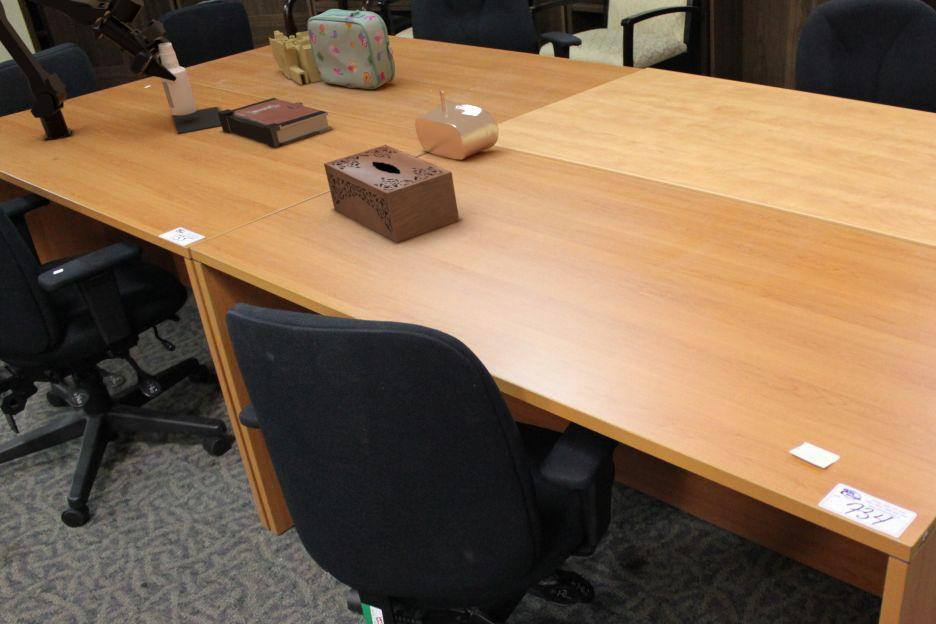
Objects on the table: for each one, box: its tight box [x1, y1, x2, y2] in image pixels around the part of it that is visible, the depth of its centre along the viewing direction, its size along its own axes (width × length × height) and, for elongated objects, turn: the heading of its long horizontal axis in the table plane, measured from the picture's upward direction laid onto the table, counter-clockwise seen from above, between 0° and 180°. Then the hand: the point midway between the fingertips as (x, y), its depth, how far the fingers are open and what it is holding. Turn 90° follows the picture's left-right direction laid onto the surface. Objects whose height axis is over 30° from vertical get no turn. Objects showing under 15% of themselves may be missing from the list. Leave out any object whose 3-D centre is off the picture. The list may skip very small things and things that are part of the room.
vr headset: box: [414, 90, 500, 161], centre depth 226 cm, size 18×11×14 cm, turn 49°
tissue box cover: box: [323, 144, 460, 244], centre depth 196 cm, size 26×14×10 cm, turn 40°
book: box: [218, 97, 332, 149], centre depth 253 cm, size 26×18×5 cm
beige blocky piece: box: [268, 30, 324, 86], centre depth 301 cm, size 24×16×20 cm
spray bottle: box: [158, 42, 198, 116], centre depth 260 cm, size 7×7×18 cm
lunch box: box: [307, 8, 396, 90], centre depth 282 cm, size 27×10×21 cm, turn 58°
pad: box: [172, 106, 222, 135], centre depth 268 cm, size 20×12×1 cm, turn 24°
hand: (179, 76), depth 260 cm, fingers closed on spray bottle, 7 cm apart
